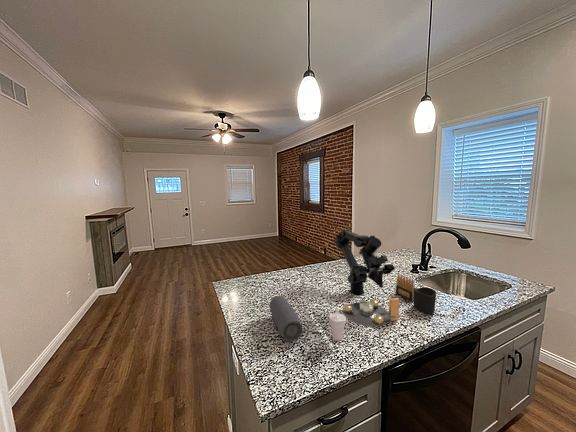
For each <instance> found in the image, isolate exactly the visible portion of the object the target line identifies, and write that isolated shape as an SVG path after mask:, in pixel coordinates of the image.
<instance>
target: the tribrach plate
mask: <svg viewBox="0 0 576 432" xmlns="http://www.w3.org/2000/svg"><path fill="white" fill-rule="evenodd" d="M342 314H343V315H344V316H345V317H346V319H348V320H349V321H351V322H353V323H355V324H357V325H360V326H365V327H381V326H382V327H383V326H385V325H386V324H389V323H390V321H389V319H387V320H383V325H376V324H374V322H373V317H374V315H381V316H384V315H389V310H388V311H387V309H385V308H384V307H382V306H379V301H378V300H376V299H370V300H369V301H366V300H363V301H360V302H352V303H349V304H348V303H345V304H343V305H342Z"/></svg>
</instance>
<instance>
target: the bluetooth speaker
mask: <svg viewBox="0 0 576 432" xmlns="http://www.w3.org/2000/svg"><path fill="white" fill-rule="evenodd" d="M269 311H270V314H271V316H272V320H273V322H274V324H275V326H276V328H277V329H278V332H279V333H280V335H281V336H282V338H283V339H284V340H285V341H287V342H294V341H297V340H299V339H300V338H301V336H302V334H303V331H304V330H303V329H304V328H303V325H302V322H301V321H300V318H299V317H298V315H297V314H296V312H295V310H294V308H293V307H292V305H291V304H290V303H289V301H288V300H287V299H286V298H285V297H283V296H282V295H275V296H274V297H272V298H271V300H270V302H269Z"/></svg>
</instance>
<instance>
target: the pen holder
mask: <svg viewBox="0 0 576 432" xmlns="http://www.w3.org/2000/svg"><path fill="white" fill-rule="evenodd" d="M436 298H437V291H436V290H435V289H433V288H429V287H428V286H426V287H425V286H423V287H419V288H416V287H414V301H412V302H413V308H414V309H415V310H416V311H418V312H421V313H422V314H424V315H426V316H428V315H430V316H431V315H433V314H434V313H435V310H436V309H435V307H436V302H437V301H436Z"/></svg>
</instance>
